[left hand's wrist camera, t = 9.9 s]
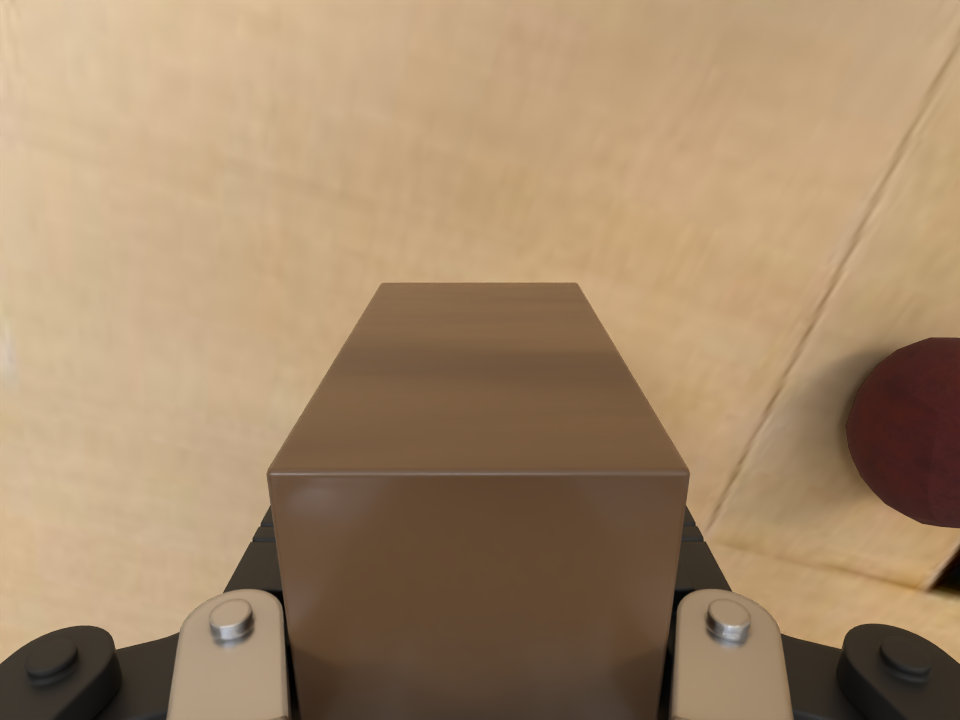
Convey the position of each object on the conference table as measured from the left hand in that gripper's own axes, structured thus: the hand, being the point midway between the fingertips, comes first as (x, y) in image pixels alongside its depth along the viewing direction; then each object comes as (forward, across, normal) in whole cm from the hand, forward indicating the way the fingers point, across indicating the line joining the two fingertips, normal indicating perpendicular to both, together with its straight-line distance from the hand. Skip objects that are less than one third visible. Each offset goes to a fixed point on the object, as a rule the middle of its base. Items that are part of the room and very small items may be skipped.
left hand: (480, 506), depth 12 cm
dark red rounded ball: (+17, +19, -5) cm, 26 cm away
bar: (+4, 0, -8) cm, 9 cm away
